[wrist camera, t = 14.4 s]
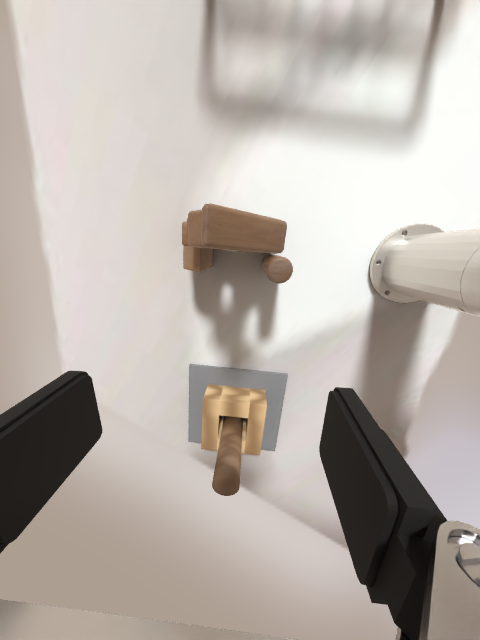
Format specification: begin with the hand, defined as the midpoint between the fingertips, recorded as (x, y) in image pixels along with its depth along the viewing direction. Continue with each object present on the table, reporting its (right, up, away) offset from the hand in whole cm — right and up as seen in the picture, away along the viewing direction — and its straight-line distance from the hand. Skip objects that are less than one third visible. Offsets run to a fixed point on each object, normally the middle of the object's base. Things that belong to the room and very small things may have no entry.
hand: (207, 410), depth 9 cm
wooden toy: (+1, +16, +30) cm, 34 cm away
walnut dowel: (0, -16, +39) cm, 42 cm away
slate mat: (0, -16, +39) cm, 43 cm away
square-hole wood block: (0, -16, +39) cm, 42 cm away
